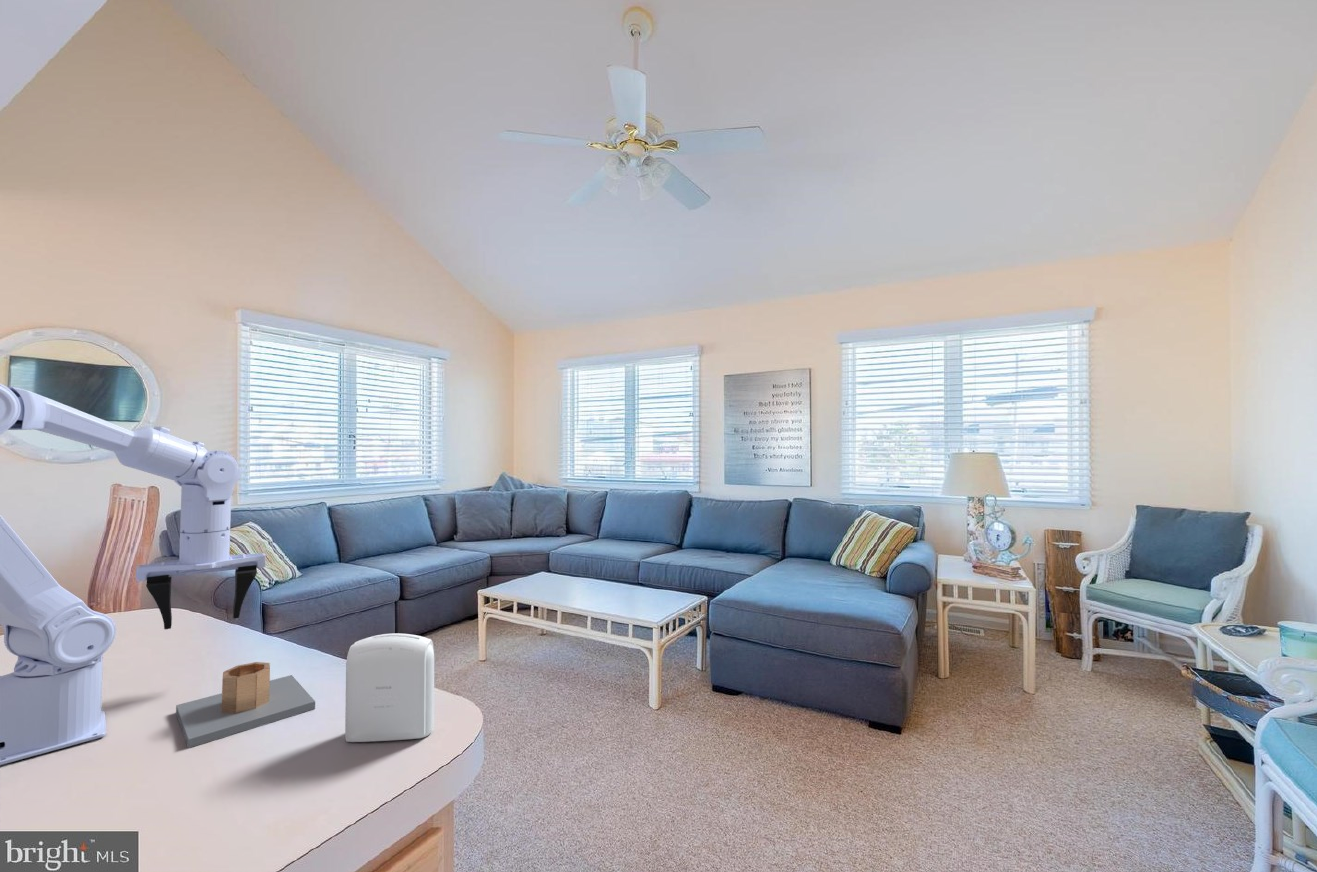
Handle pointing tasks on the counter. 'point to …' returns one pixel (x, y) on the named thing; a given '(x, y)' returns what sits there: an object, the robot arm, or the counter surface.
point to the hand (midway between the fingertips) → (203, 621)
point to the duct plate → (211, 723)
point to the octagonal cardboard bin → (245, 687)
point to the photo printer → (389, 688)
